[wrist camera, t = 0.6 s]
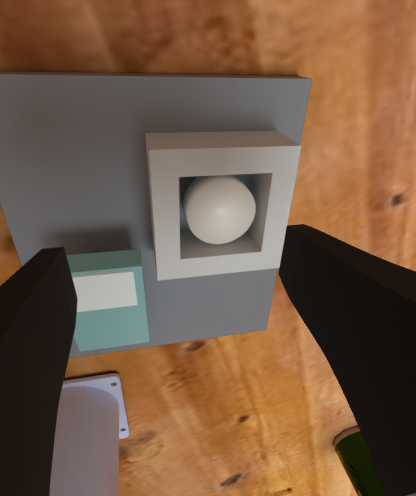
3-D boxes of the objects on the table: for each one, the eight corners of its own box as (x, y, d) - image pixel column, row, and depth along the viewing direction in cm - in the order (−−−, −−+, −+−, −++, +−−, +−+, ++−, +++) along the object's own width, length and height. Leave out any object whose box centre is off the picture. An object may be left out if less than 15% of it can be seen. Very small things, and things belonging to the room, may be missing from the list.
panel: (260, 316, 27) (281, 360, 24) (57, 344, 24) (45, 398, 21) (298, 75, 18) (344, 86, 14) (-30, 70, 15) (-82, 81, 11)
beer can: (358, 420, 42) (430, 538, 32) (374, 431, 45) (445, 542, 35) (324, 441, 43) (383, 561, 33) (342, 450, 46) (402, 563, 36)
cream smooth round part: (243, 228, 19) (251, 241, 18) (183, 232, 19) (187, 246, 17) (249, 168, 17) (259, 178, 16) (182, 171, 17) (187, 182, 15)
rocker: (148, 326, 23) (149, 343, 22) (81, 335, 22) (80, 353, 21) (140, 248, 17) (141, 268, 16) (49, 256, 16) (46, 277, 16)
